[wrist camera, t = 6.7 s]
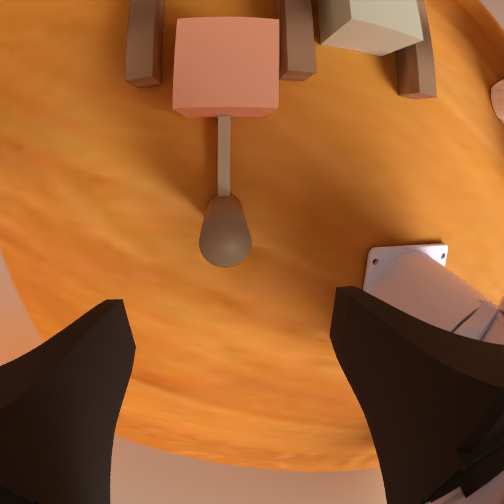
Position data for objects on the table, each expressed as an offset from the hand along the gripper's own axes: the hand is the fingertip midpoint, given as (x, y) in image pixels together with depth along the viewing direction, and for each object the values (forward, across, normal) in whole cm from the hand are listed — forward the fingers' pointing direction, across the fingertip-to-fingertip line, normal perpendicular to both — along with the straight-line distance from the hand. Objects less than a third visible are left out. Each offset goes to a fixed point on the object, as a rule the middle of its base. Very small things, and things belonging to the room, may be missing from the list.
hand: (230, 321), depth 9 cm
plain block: (+10, -8, -14) cm, 19 cm away
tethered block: (+10, 0, -6) cm, 11 cm away
